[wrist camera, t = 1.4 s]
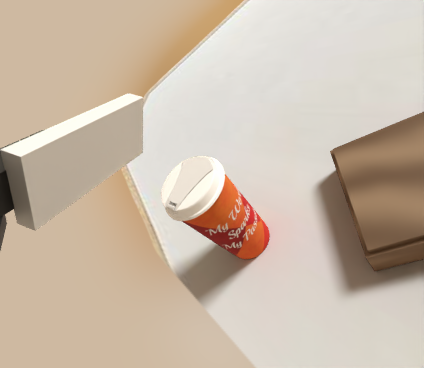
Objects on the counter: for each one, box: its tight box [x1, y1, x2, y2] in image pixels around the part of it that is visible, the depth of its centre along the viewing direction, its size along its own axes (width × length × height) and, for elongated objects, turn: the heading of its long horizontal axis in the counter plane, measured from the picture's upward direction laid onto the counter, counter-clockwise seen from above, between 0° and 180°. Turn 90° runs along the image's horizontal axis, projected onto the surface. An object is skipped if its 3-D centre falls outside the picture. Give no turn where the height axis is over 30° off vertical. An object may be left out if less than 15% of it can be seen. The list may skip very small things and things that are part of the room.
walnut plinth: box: [330, 112, 424, 271], centre depth 35 cm, size 14×14×4 cm
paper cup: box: [161, 156, 270, 259], centre depth 40 cm, size 8×8×14 cm
